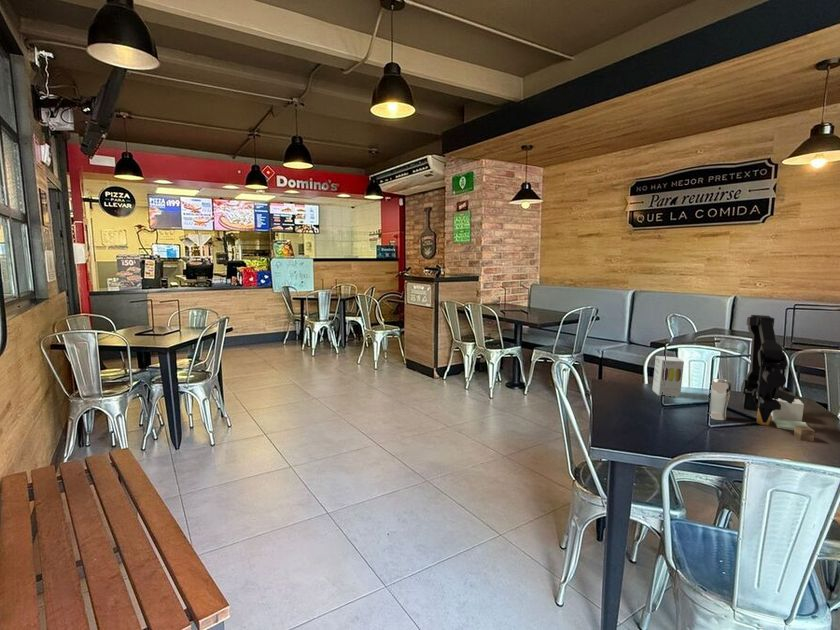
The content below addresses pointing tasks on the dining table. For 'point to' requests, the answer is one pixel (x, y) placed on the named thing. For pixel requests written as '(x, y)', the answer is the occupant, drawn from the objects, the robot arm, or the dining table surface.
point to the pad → (788, 423)
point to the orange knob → (759, 419)
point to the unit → (789, 410)
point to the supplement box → (668, 376)
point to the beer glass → (719, 398)
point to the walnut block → (804, 433)
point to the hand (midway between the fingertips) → (763, 420)
